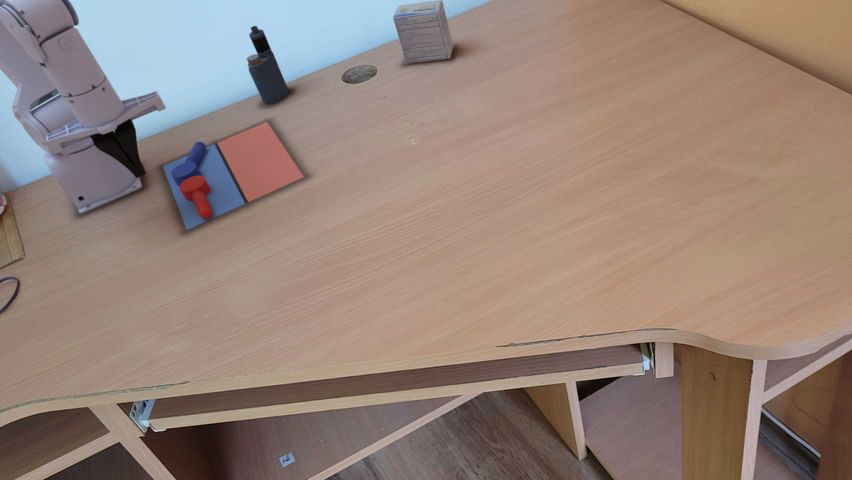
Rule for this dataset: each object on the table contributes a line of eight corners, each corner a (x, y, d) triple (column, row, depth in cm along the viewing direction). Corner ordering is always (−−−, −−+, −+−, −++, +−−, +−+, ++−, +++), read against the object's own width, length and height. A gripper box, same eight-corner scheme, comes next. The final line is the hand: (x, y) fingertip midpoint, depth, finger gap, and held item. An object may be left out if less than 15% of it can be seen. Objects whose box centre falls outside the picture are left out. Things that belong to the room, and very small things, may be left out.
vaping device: (292, 90, 123) (264, 24, 114) (271, 106, 120) (241, 40, 112) (282, 88, 124) (253, 23, 116) (261, 104, 121) (230, 38, 113)
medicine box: (454, 47, 124) (442, -2, 118) (450, 60, 121) (438, 10, 115) (410, 52, 125) (397, 4, 119) (406, 65, 122) (392, 16, 116)
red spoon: (222, 214, 99) (216, 204, 98) (196, 226, 98) (190, 216, 97) (207, 181, 106) (202, 172, 105) (183, 192, 105) (177, 182, 104)
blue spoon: (192, 150, 114) (187, 141, 112) (215, 146, 113) (210, 137, 112) (173, 188, 106) (167, 179, 105) (197, 184, 106) (191, 175, 105)
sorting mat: (187, 230, 98) (186, 229, 98) (163, 167, 112) (162, 165, 112) (304, 177, 103) (303, 176, 103) (267, 122, 116) (266, 121, 116)
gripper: (25, 120, 84) (90, 209, 93) (145, 73, 88) (196, 163, 97) (22, 98, 89) (85, 185, 98) (136, 54, 92) (186, 142, 102)
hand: (140, 173), depth 98 cm, fingers closed
